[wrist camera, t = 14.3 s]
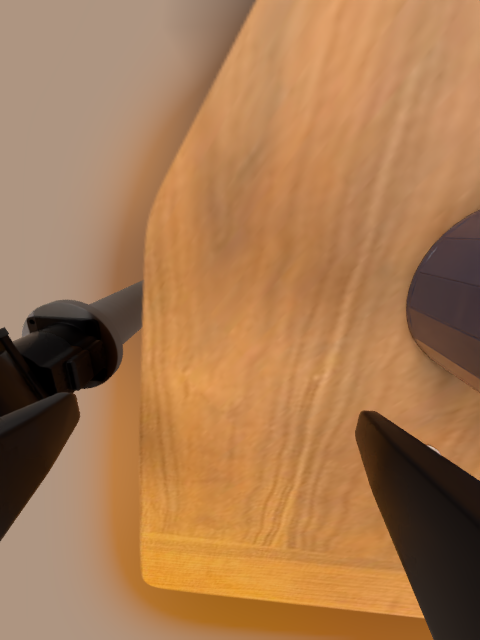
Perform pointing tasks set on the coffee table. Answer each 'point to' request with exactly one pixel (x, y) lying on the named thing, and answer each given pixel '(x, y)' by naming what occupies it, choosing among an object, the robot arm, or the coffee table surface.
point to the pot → (450, 301)
